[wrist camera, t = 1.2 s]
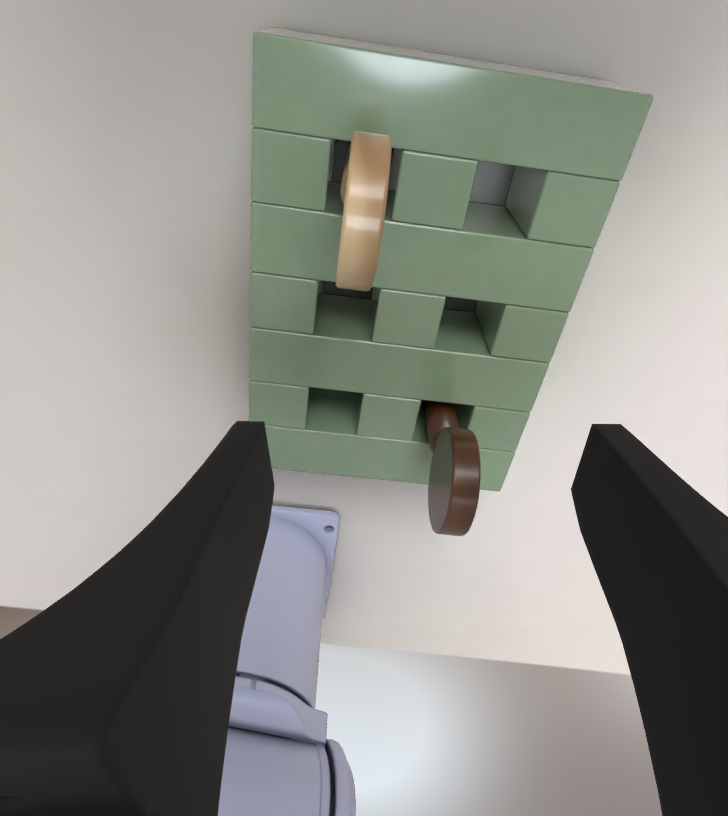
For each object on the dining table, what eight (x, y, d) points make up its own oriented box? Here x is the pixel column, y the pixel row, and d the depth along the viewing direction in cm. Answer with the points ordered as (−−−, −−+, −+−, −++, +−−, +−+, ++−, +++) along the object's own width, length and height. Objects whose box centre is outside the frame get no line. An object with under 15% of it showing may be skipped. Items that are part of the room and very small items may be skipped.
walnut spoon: (456, 340, 23) (493, 481, 16) (438, 409, 25) (464, 559, 18) (428, 337, 23) (453, 477, 16) (412, 406, 25) (428, 556, 18)
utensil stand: (486, 439, 26) (500, 492, 23) (261, 414, 25) (247, 466, 22) (608, 80, 17) (655, 95, 15) (272, 27, 17) (253, 30, 14)
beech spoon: (389, 98, 18) (402, 155, 11) (373, 211, 20) (376, 317, 13) (352, 92, 18) (342, 147, 11) (340, 206, 20) (325, 311, 13)
